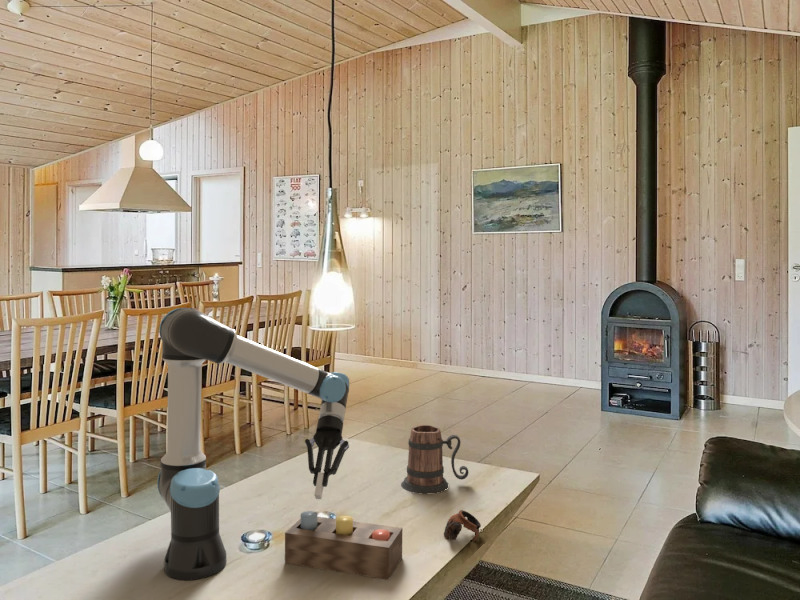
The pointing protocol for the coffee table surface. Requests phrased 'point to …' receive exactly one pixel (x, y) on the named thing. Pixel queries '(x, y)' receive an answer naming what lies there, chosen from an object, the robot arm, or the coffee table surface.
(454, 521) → the pottery mug
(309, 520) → the slate button
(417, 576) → the coffee table surface
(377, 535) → the red button
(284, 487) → the coffee table surface
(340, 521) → the mustard button
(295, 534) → the console
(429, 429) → the tankard
